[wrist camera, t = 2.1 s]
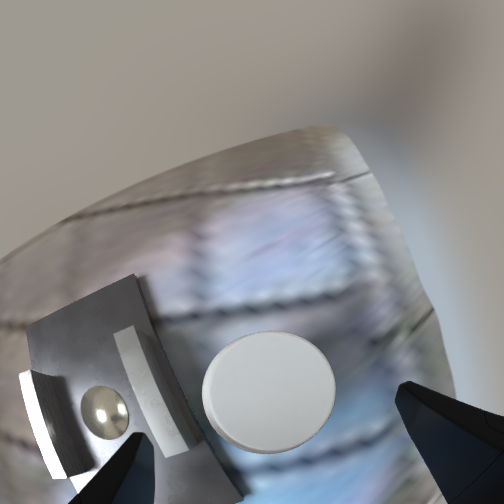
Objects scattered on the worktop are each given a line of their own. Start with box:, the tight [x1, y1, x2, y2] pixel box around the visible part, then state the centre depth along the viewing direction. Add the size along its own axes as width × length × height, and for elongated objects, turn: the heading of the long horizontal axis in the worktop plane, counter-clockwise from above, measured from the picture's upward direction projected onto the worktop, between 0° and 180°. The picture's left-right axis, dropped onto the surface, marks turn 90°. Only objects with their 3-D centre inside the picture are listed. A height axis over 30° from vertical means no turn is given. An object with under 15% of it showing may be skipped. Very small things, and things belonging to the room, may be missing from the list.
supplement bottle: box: [202, 331, 336, 454], centre depth 11 cm, size 5×5×10 cm
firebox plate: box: [19, 274, 244, 504], centre depth 13 cm, size 18×12×3 cm, turn 28°
